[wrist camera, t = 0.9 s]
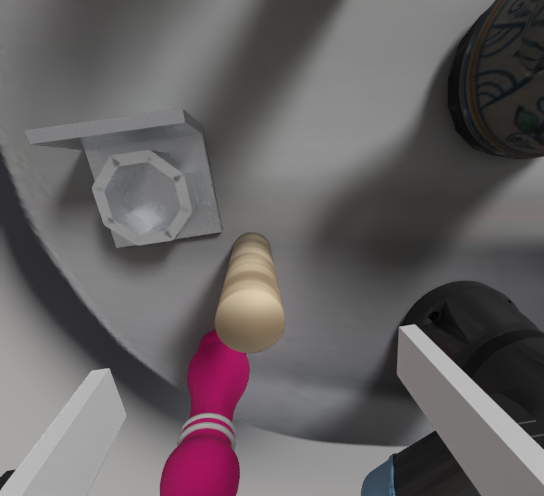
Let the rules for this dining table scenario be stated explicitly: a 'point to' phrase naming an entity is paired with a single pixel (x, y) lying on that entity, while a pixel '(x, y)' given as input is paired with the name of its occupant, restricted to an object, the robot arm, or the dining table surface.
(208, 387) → the pepper mill
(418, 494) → the robot arm
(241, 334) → the wooden spindle
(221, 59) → the dining table surface
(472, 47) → the black tapered vessel
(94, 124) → the cup bracket
